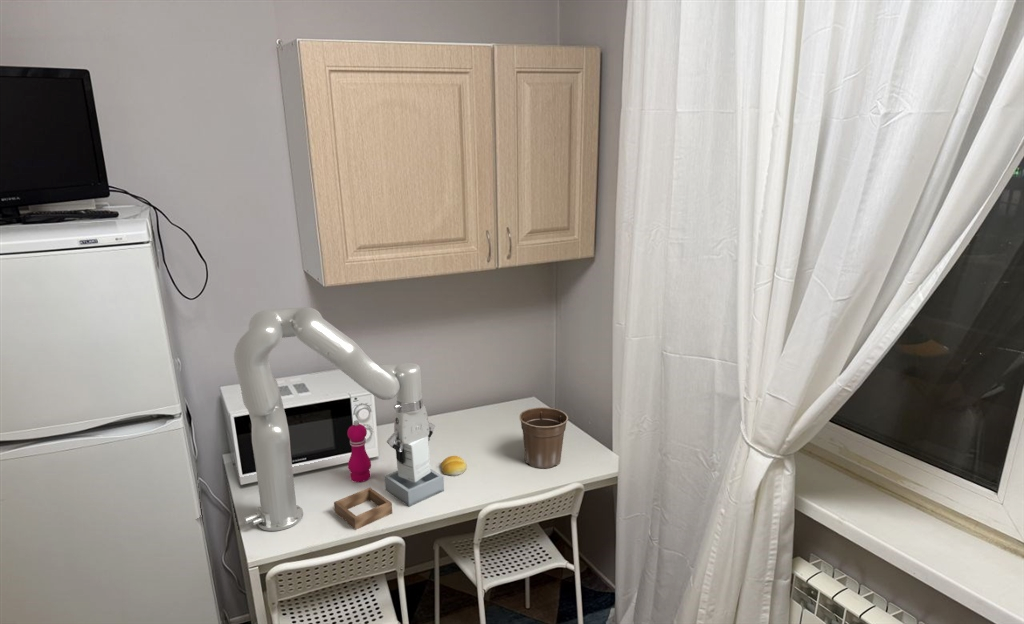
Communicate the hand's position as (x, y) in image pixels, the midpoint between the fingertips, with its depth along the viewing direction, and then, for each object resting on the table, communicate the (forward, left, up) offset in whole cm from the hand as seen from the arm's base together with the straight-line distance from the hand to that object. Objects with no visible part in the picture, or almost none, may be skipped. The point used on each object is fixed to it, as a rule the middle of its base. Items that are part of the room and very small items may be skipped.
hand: (413, 456), depth 196 cm
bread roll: (+17, +2, -12) cm, 21 cm away
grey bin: (0, 0, -12) cm, 12 cm away
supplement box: (0, 0, -6) cm, 6 cm away
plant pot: (+43, -14, -12) cm, 47 cm away
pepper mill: (-8, +19, -12) cm, 24 cm away
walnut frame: (-18, 0, -12) cm, 21 cm away
